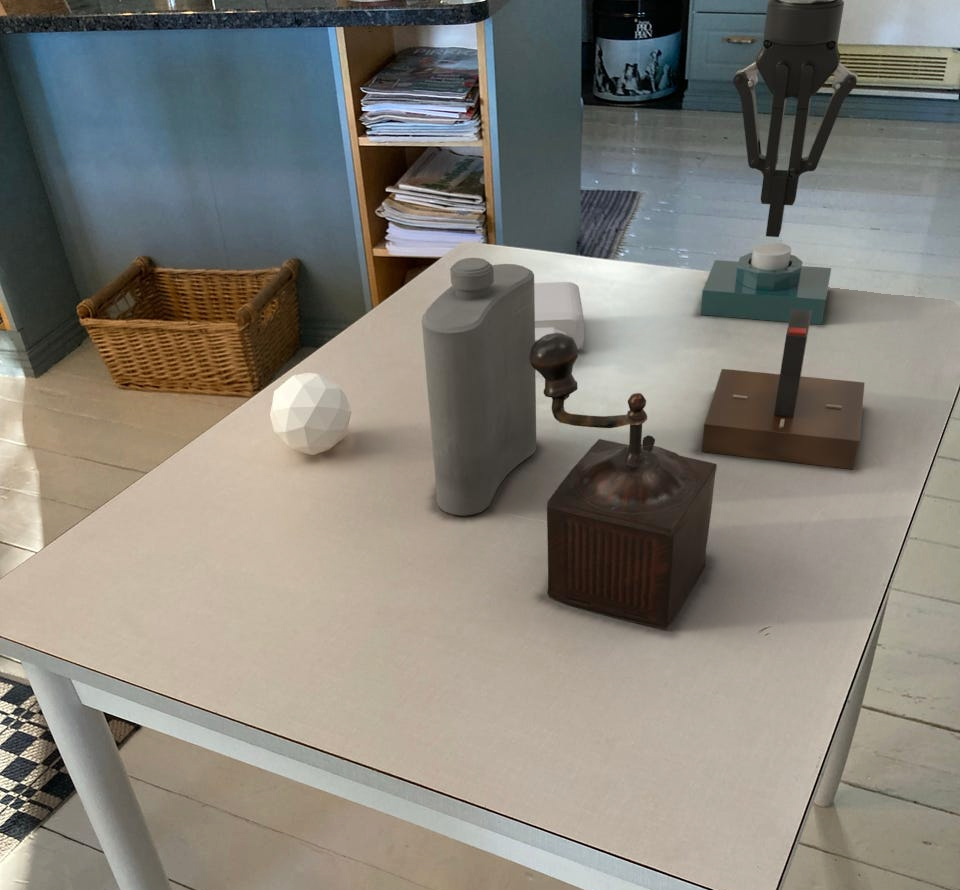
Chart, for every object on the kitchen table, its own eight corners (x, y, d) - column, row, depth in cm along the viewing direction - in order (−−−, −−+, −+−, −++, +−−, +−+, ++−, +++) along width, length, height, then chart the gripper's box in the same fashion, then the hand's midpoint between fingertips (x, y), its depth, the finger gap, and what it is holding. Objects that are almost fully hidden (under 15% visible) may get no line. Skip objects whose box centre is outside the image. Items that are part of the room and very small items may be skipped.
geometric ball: (306, 481, 103) (248, 438, 97) (312, 419, 107) (256, 374, 101) (365, 453, 100) (308, 407, 94) (368, 390, 103) (314, 342, 98)
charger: (502, 379, 112) (501, 323, 124) (587, 376, 112) (578, 320, 124) (501, 338, 109) (500, 284, 121) (587, 334, 109) (578, 281, 120)
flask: (490, 433, 103) (481, 230, 91) (544, 443, 101) (542, 237, 88) (419, 508, 93) (398, 292, 81) (477, 522, 91) (464, 302, 78)
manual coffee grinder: (712, 556, 86) (737, 352, 74) (668, 633, 78) (688, 421, 67) (543, 515, 92) (542, 320, 80) (487, 583, 84) (476, 380, 73)
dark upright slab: (779, 387, 102) (792, 306, 96) (798, 388, 101) (812, 307, 96) (773, 415, 97) (786, 332, 92) (793, 417, 97) (807, 334, 92)
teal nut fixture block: (827, 292, 127) (834, 251, 123) (821, 325, 119) (828, 282, 116) (712, 283, 130) (716, 243, 127) (700, 314, 123) (704, 273, 120)
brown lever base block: (858, 409, 104) (865, 380, 102) (853, 469, 95) (859, 439, 93) (718, 395, 107) (721, 366, 105) (700, 451, 99) (704, 422, 97)
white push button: (790, 260, 123) (793, 243, 122) (786, 274, 120) (789, 256, 118) (752, 257, 124) (755, 240, 123) (748, 271, 121) (750, 253, 120)
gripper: (736, 2, 103) (712, 240, 118) (872, 3, 100) (829, 248, 115) (745, -11, 109) (721, 218, 124) (875, -11, 105) (833, 225, 120)
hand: (773, 232), depth 119 cm, fingers closed
